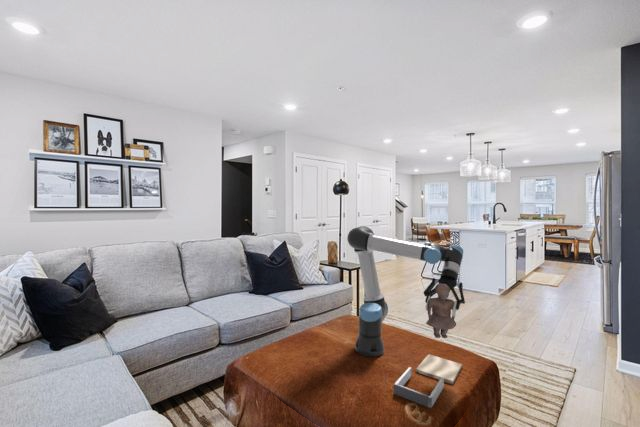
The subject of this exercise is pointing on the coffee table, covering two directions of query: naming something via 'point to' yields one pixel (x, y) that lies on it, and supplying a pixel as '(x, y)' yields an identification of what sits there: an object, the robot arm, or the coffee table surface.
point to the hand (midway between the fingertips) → (439, 312)
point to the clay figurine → (441, 311)
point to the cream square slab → (439, 368)
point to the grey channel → (416, 395)
